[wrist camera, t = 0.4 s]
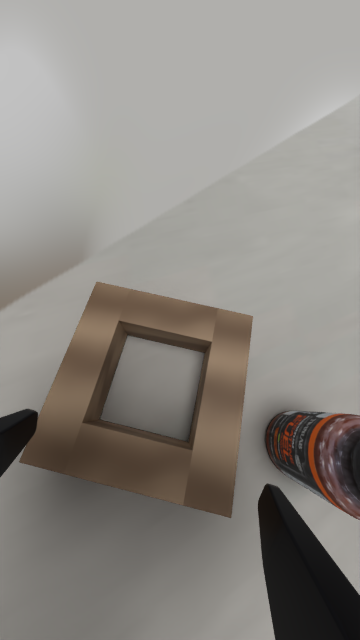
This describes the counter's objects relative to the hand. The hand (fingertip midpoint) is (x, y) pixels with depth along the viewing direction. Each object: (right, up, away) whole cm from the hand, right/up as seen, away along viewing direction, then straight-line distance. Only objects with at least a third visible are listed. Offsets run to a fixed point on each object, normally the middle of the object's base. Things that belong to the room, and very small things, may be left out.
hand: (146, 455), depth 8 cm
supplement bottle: (+12, -7, +13) cm, 20 cm away
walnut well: (-1, -2, +15) cm, 15 cm away
